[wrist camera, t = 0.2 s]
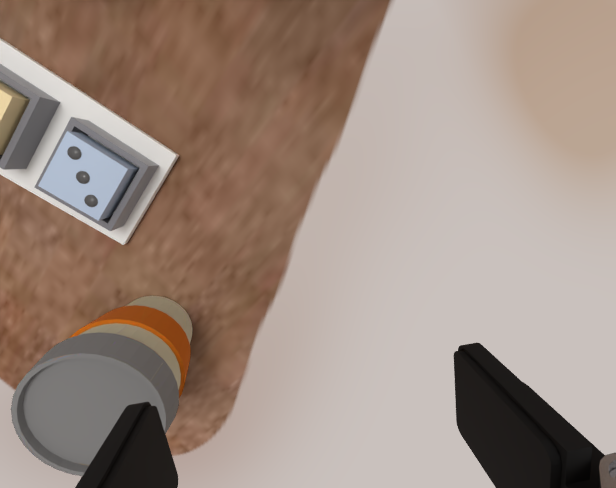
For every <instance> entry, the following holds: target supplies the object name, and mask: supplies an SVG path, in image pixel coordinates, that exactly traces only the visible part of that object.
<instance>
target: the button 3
mask: <svg viewBox="0 0 616 488" xmlns="http://www.w3.org/2000/svg"><path fill="white" fill-rule="evenodd" d="M138 169H139V168H137V167H136V166H134V165H132V164H131V163H129V162H128V161H126V160H125V159H123V158H121V157H120V156H118V155H117V154H115V153H113V152H112V151H110V150H109V149H107V148H105V147H104V146H102V145H101V144H99V143H98V142H96V141H94V140H93V139H91V138H90V137H88V136H86V135H85V134H83V133H78V132H71V131H67V132H66V134H65V136H64V138H63V139H62V141H61V143H60V145H59V147H58V149H57V151H56V153H55V155H54V157H53V158H52V160H51V162H50V164H49V166H48V168H47V170H46V172H45V174H44V176H43V177H42V179H41V181H40V183H39V185H38V186H39V187H41V188H43V189H44V190H46V191H48V192H50V193H51V194H53V195H55V196H57V197H58V198H60V199H62V200H63V201H65V202H67V203H69V204H70V205H72V206H74V207H75V208H77V209H79V210H81V211H82V212H84V213H86V214H88V215H89V216H91V217H93V218H94V219H96V220H98V221H99V220H102V219H105V218H108V217H111V215H112V214H113V212H114V210H115V208H116V207H117V205H118V203H119V201H120V200H121V198H122V196H123V195H124V193H125V191H126V189H127V188H128V186H129V184H130V182H131V181H132V179H133V177H134V176H135V174H136V172H137V170H138Z"/></svg>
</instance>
